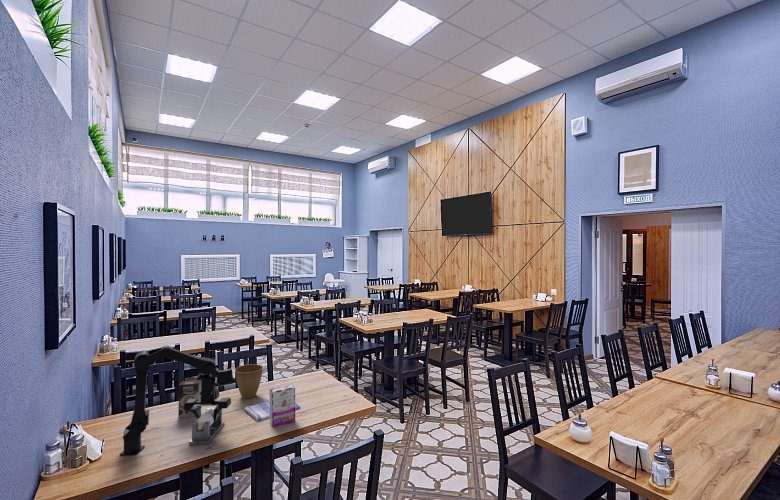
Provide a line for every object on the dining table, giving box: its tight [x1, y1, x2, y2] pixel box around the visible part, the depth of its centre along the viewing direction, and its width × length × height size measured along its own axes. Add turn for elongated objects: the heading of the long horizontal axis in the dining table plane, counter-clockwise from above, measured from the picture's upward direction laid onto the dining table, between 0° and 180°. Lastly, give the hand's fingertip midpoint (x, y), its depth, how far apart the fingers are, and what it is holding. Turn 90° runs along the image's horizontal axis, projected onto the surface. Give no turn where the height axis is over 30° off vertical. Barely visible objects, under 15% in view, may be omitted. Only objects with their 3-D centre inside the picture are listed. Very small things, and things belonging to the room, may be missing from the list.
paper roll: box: [196, 406, 219, 430], centre depth 166 cm, size 18×6×6 cm, turn 5°
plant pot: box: [234, 363, 264, 400], centre depth 209 cm, size 15×15×16 cm
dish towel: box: [244, 400, 301, 422], centre depth 192 cm, size 17×24×3 cm
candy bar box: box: [269, 384, 296, 427], centre depth 178 cm, size 11×5×16 cm, turn 123°
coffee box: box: [177, 379, 201, 418], centre depth 186 cm, size 9×6×16 cm
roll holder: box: [188, 407, 225, 447], centre depth 166 cm, size 19×8×8 cm, turn 5°
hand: (207, 422), depth 166 cm, fingers closed on paper roll, 6 cm apart
